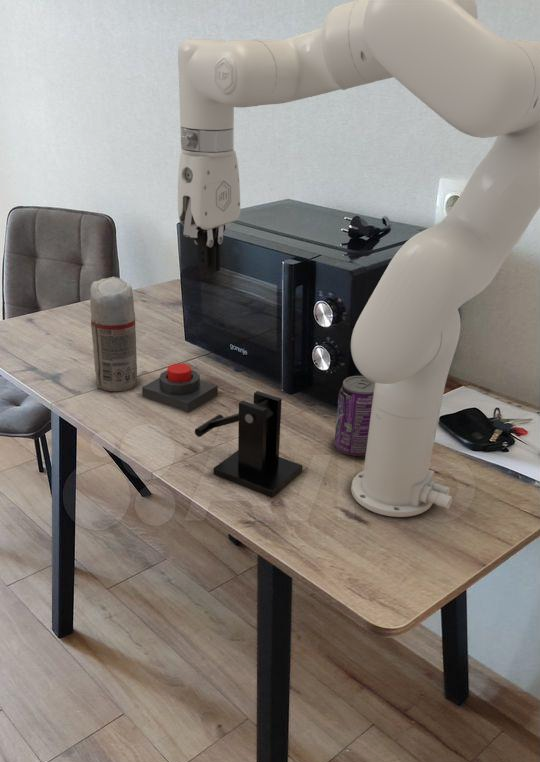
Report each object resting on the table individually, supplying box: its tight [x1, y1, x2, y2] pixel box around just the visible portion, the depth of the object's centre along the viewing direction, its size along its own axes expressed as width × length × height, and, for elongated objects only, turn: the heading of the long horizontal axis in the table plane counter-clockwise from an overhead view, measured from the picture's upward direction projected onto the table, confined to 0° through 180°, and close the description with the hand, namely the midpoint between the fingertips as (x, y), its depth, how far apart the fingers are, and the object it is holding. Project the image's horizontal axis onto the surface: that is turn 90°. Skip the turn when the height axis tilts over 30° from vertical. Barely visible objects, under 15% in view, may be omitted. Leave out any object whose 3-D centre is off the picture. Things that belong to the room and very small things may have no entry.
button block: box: [141, 369, 219, 413], centre depth 132 cm, size 11×9×4 cm
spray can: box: [89, 275, 138, 392], centre depth 131 cm, size 8×8×20 cm
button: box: [166, 363, 192, 382], centre depth 131 cm, size 4×4×2 cm
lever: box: [194, 400, 274, 438], centre depth 109 cm, size 13×6×2 cm, turn 57°
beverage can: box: [333, 375, 375, 457], centre depth 116 cm, size 7×7×12 cm
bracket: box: [213, 390, 303, 498], centre depth 108 cm, size 11×9×13 cm
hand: (209, 270), depth 110 cm, fingers closed
